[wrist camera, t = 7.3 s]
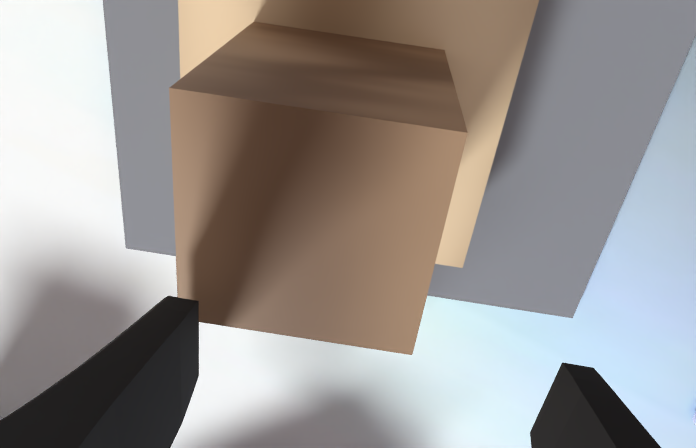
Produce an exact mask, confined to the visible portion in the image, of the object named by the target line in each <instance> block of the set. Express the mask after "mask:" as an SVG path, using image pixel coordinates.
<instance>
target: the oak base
mask: <svg viewBox="0 0 696 448" xmlns="http://www.w3.org/2000/svg"><path fill="white" fill-rule="evenodd" d="M538 3H539V0H178V16H179V52H180V79H181V78H182V77H184V76H185V75H186V74H187V73H189V72H190V71H191V70H192V69H194V68H195V67H196V66H198V65H199V64H200V63H201V62H203V61H204V60H205V59H207V58H208V57H209V56H210V55H212V54H213V53H214V52H216V51H217V50H218V49H219V48H221V47H222V46H223V45H224V44H226V43H227V42H228V41H230V40H231V39H232V38H233V37H235V36H236V35H237V34H239V33H240V32H241V31H242V30H244V29H245V28H246V27H247V26H249V25H250V24H251V23H253V22H260V23H267V24H274V25H280V26H287V27H294V28H300V29H307V30H314V31H320V32H327V33H334V34H341V35H347V36H354V37H361V38H367V39H374V40H381V41H388V42H394V43H401V44H408V45H414V46H421V47H428V48H435V49H441V50H445V54H446V57H447V61H448V64H449V68H450V71H451V75H452V78H453V82H454V85H455V89H456V93H457V96H458V100H459V103H460V107H461V110H462V114H463V117H464V121H465V125H466V128H467V132H468V134H467V138H466V142H465V146H464V150H463V154H462V158H461V162H460V166H459V170H458V174H457V178H456V182H455V186H454V190H453V194H452V198H451V202H450V206H449V210H448V214H447V218H446V222H445V226H444V230H443V234H442V238H441V242H440V246H439V250H438V254H437V258H436V262H435V264H440V265H446V266H453V267H459V268H463V265H464V261H465V258H466V254H467V251H468V247H469V244H470V240H471V237H472V233H473V230H474V226H475V223H476V219H477V216H478V212H479V209H480V205H481V202H482V198H483V195H484V191H485V188H486V184H487V181H488V177H489V174H490V170H491V167H492V163H493V160H494V156H495V153H496V149H497V146H498V142H499V139H500V135H501V132H502V128H503V125H504V121H505V118H506V114H507V111H508V107H509V104H510V100H511V97H512V93H513V90H514V86H515V83H516V79H517V76H518V72H519V69H520V65H521V62H522V58H523V55H524V51H525V48H526V44H527V41H528V37H529V34H530V31H531V27H532V24H533V20H534V17H535V13H536V10H537V6H538Z"/></svg>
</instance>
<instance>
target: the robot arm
mask: <svg viewBox="0 0 696 448" xmlns="http://www.w3.org/2000/svg"><path fill="white" fill-rule="evenodd" d="M198 376H199V301H196V300H190V299H184V298H178V297H172V296H167V297H166V298H164V299H163V300H162V301H160V302H159V303H158V304H157V305H155V306H154V307H153V308H152V309H151V310H149V311H148V312H147V313H146V314H145V315H143V316H142V317H141V318H140V319H139V320H137V321H136V322H135V323H134V324H133V325H131V326H130V327H129V328H128V329H126V330H125V331H124V332H123V333H122V334H120V335H119V336H118V337H117V338H115V339H114V340H113V341H112V342H110V343H109V344H108V345H106V346H105V347H104V348H103V349H101V350H100V351H99V352H97V353H96V354H95V355H94V356H92V357H91V358H90V359H88V360H87V361H86V362H84V363H83V364H82V365H81V366H79V367H78V368H77V369H75V370H74V371H72V372H71V373H70V374H68V375H67V376H65V377H64V378H63V379H61V380H60V381H58V382H57V383H55V384H54V385H53V386H51V387H50V388H48V389H47V390H46V391H44V392H43V393H41V394H40V395H38V396H37V397H36V398H34V399H33V400H31V401H30V402H28V403H27V404H25V405H24V406H22V407H21V408H19V409H18V410H16V411H14V412H13V413H11V414H10V415H8V416H7V417H5V418H3V419H2V420H0V448H170V447H171V445H172V443H173V441H174V439H175V437H176V435H177V433H178V430H179V428H180V426H181V424H182V422H183V419H184V416H185V413H186V411H187V408H188V405H189V402H190V399H191V397H192V394H193V391H194V388H195V385H196V382H197V379H198ZM692 419H693V422H694V424H695V425H696V412H695V414H694V415H693V418H692ZM530 436H531V446H532V448H661V447H660V446H659V445H658V443H657V442H656V441H655V440H654V439H653V438H652V436H651V435H650V434H649V433H648V432H647V430H646V429H645V428H644V427H643V426H642V424H641V423H640V422H639V421H638V420H637V419H636V417H635V416H634V415H633V414H632V413H631V411H630V410H629V409H628V408H627V407H626V405H625V404H624V403H623V402H622V401H621V399H620V398H619V397H618V396H617V395H616V393H615V392H614V391H613V390H612V389H611V387H610V386H609V385H608V384H607V383H606V382H605V380H604V379H603V378H602V377H601V376H600V375H599V374H598V372H597V371H596V370H595V369H594V368H591V367H585V366H579V365H573V364H568V363H562V364H561V367H560V369H559V371H558V373H557V375H556V377H555V380H554V382H553V384H552V386H551V388H550V390H549V393H548V395H547V397H546V399H545V401H544V404H543V406H542V408H541V410H540V412H539V414H538V417H537V419H536V421H535V423H534V425H533V427H532V430H531V432H530Z"/></svg>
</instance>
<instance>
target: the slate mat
mask: <svg viewBox="0 0 696 448" xmlns="http://www.w3.org/2000/svg"><path fill="white" fill-rule="evenodd" d="M103 8H104V18H105V29H106V40H107V51H108V61H109V72H110V83H111V94H112V104H113V115H114V126H115V136H116V147H117V158H118V169H119V179H120V190H121V201H122V212H123V222H124V233H125V244H126V248H128V249H134V250H140V251H147V252H153V253H160V254H166V255H172V256H176V244H175V220H174V196H173V171H172V147H171V122H170V98H169V87H171V86H172V85H173V84H175V83H176V82H177V81H178V80H180V52H179V16H178V0H103ZM695 35H696V0H539V3H538V6H537V10H536V13H535V17H534V20H533V24H532V27H531V31H530V34H529V37H528V41H527V44H526V48H525V51H524V55H523V58H522V62H521V65H520V69H519V72H518V76H517V79H516V83H515V86H514V90H513V93H512V97H511V100H510V104H509V107H508V111H507V114H506V118H505V121H504V125H503V128H502V132H501V135H500V139H499V142H498V146H497V149H496V153H495V156H494V160H493V163H492V167H491V170H490V174H489V177H488V181H487V184H486V188H485V191H484V195H483V198H482V202H481V205H480V209H479V212H478V216H477V219H476V223H475V226H474V230H473V233H472V237H471V240H470V244H469V247H468V251H467V254H466V258H465V261H464V265H463V268H459V267H453V266H446V265H440V264H435V266H434V270H433V274H432V278H431V282H430V286H429V290H428V294H427V295H428V296H435V297H441V298H447V299H454V300H460V301H466V302H473V303H479V304H486V305H492V306H498V307H505V308H511V309H518V310H524V311H530V312H537V313H543V314H550V315H556V316H562V317H569V318H573V316H574V313H575V311H576V309H577V306H578V304H579V302H580V299H581V297H582V295H583V293H584V290H585V288H586V286H587V283H588V281H589V279H590V276H591V274H592V272H593V270H594V267H595V265H596V263H597V260H598V258H599V256H600V253H601V251H602V249H603V247H604V244H605V242H606V240H607V237H608V235H609V233H610V231H611V228H612V226H613V224H614V221H615V219H616V217H617V214H618V212H619V210H620V208H621V205H622V203H623V201H624V198H625V196H626V194H627V191H628V189H629V187H630V185H631V182H632V180H633V178H634V175H635V173H636V171H637V168H638V166H639V164H640V162H641V159H642V157H643V155H644V152H645V150H646V148H647V145H648V143H649V141H650V139H651V136H652V134H653V132H654V129H655V127H656V125H657V123H658V120H659V118H660V116H661V113H662V111H663V109H664V106H665V104H666V102H667V100H668V97H669V95H670V93H671V90H672V88H673V86H674V83H675V81H676V79H677V77H678V74H679V72H680V70H681V67H682V65H683V63H684V60H685V58H686V56H687V54H688V51H689V49H690V47H691V44H692V42H693V40H694V38H695Z"/></svg>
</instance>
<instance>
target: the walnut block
mask: <svg viewBox="0 0 696 448" xmlns="http://www.w3.org/2000/svg"><path fill="white" fill-rule="evenodd" d="M169 98H170V122H171V147H172V171H173V196H174V220H175V244H176V269H177V293H178V298H184V299H190V300H196V301H199V322H203V323H210V324H216V325H222V326H229V327H235V328H242V329H248V330H255V331H261V332H267V333H274V334H280V335H287V336H293V337H299V338H306V339H312V340H319V341H325V342H332V343H338V344H344V345H351V346H357V347H364V348H370V349H377V350H383V351H389V352H396V353H402V354H409V355H412V354H413V350H414V346H415V342H416V338H417V334H418V330H419V326H420V322H421V318H422V314H423V310H424V306H425V302H426V298H427V294H428V290H429V286H430V282H431V278H432V274H433V270H434V266H435V262H436V258H437V254H438V250H439V246H440V242H441V238H442V234H443V230H444V226H445V222H446V218H447V214H448V210H449V206H450V202H451V198H452V194H453V190H454V186H455V182H456V178H457V174H458V170H459V166H460V162H461V158H462V154H463V150H464V146H465V142H466V138H467V134H468V132H467V128H466V125H465V121H464V117H463V114H462V110H461V107H460V103H459V100H458V96H457V93H456V89H455V85H454V82H453V78H452V75H451V71H450V68H449V64H448V61H447V57H446V54H445V50H441V49H435V48H428V47H421V46H414V45H408V44H401V43H394V42H388V41H381V40H374V39H367V38H361V37H354V36H347V35H341V34H334V33H327V32H320V31H314V30H307V29H300V28H294V27H287V26H280V25H274V24H267V23H260V22H253V23H251V24H250V25H249V26H247V27H246V28H245V29H244V30H242V31H241V32H240V33H239V34H237V35H236V36H235V37H233V38H232V39H231V40H230V41H228V42H227V43H226V44H224V45H223V46H222V47H221V48H219V49H218V50H217V51H216V52H214V53H213V54H212V55H210V56H209V57H208V58H207V59H205V60H204V61H203V62H201V63H200V64H199V65H198V66H196V67H195V68H194V69H192V70H191V71H190V72H189V73H187V74H186V75H185V76H184V77H182V78H181V79H180V80H178V81H177V82H176V83H175V84H173V85H172V86H171V87H169Z"/></svg>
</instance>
